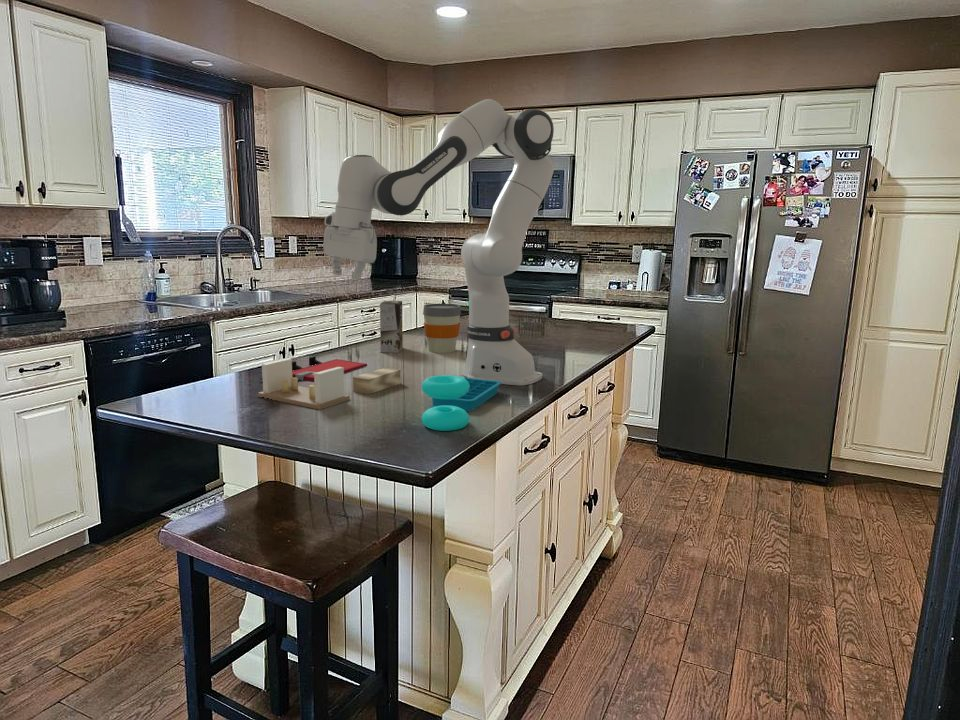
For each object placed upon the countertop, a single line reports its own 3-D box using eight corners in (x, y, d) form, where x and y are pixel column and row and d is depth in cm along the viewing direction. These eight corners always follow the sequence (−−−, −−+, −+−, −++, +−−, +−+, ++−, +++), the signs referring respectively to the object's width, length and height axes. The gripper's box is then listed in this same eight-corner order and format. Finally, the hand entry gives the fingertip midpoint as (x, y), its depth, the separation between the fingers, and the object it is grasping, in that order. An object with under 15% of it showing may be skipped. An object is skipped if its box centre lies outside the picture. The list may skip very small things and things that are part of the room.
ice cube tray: (502, 393, 163) (502, 381, 162) (472, 414, 144) (472, 401, 144) (460, 388, 167) (460, 377, 166) (426, 408, 148) (426, 395, 148)
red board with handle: (253, 381, 169) (298, 389, 163) (253, 371, 169) (298, 379, 162) (326, 362, 196) (367, 368, 190) (326, 353, 195) (367, 359, 189)
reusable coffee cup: (427, 346, 221) (427, 302, 218) (463, 347, 219) (463, 304, 216) (419, 353, 209) (419, 307, 205) (457, 354, 207) (457, 308, 204)
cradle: (349, 399, 153) (348, 367, 151) (319, 409, 145) (318, 375, 143) (289, 388, 163) (287, 357, 161) (258, 396, 154) (256, 364, 153)
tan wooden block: (385, 382, 172) (385, 367, 171) (400, 384, 169) (400, 369, 169) (353, 392, 161) (352, 377, 160) (368, 395, 158) (368, 379, 158)
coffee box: (399, 353, 208) (399, 303, 205) (379, 352, 208) (379, 303, 205) (403, 347, 217) (402, 300, 214) (384, 347, 217) (383, 300, 214)
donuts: (476, 376, 136) (458, 387, 127) (476, 421, 138) (458, 435, 129) (434, 372, 139) (413, 382, 130) (434, 416, 141) (413, 429, 132)
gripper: (386, 226, 153) (379, 283, 155) (343, 221, 168) (337, 273, 170) (363, 222, 149) (356, 281, 151) (321, 217, 164) (316, 271, 166)
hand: (346, 277), depth 161 cm, fingers open, 8 cm apart
